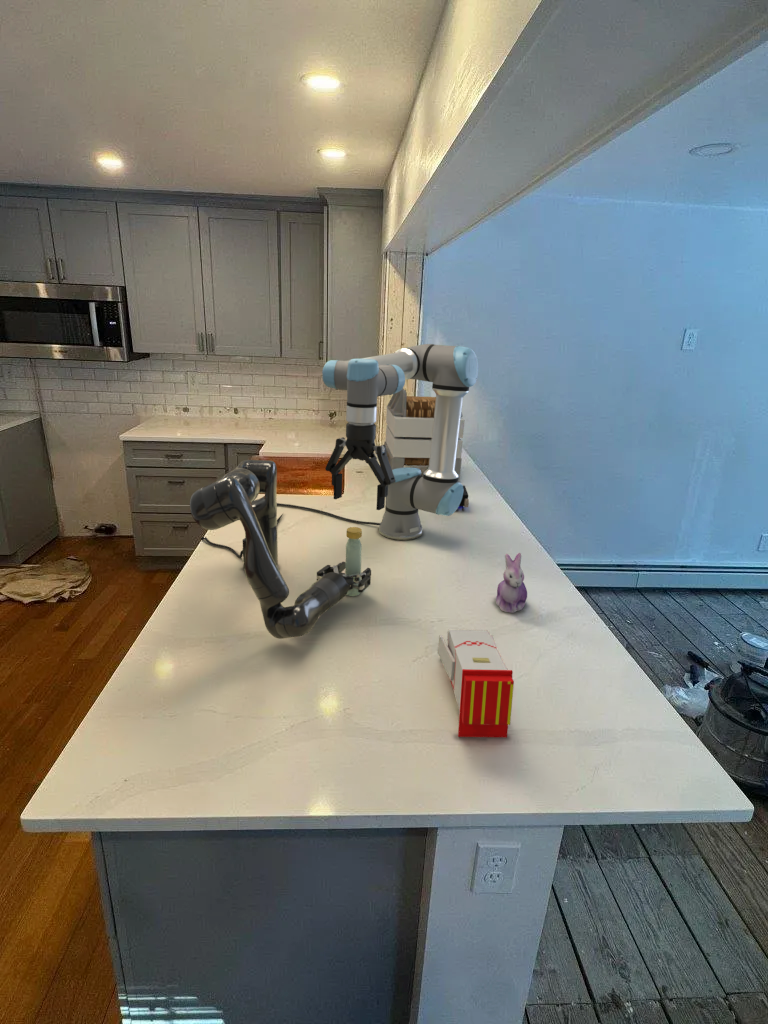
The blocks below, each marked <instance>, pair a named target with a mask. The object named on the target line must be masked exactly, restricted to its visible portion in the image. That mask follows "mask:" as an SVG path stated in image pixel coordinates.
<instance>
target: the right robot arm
mask: <svg viewBox="0 0 768 1024" xmlns="http://www.w3.org/2000/svg"><path fill="white" fill-rule="evenodd" d="M321 373H322V377H321V378H322V382H323V384H324V385H325V386H326V388H329V389H335V390H341V391H346V411H345V421H346V422H347V423H346V424H345V437H339V438H336V439H335V445H334V449H333V451H332V453H331V455H330V457H329V459H328V462H327V463H326V466H325V471H326V472H329V473H330V474H331V486H333V500H337V499H340V498H342V497H343V473H341V472H342V470H343V469H344V468H345V467H346V466H347V464H348V463H349V462H350V461H351V460H352V459H353V460H358V461H362V462H363V461H364V462H365V464H368V466H369V467H370V469H371V471H372V473H373V474H374V476H375V478H376V480H377V481H378V483H379V484H377V489H376V490H377V491H376V509H375V510H376V511H381V510H383V509H384V513H383V515H382V519H381V522H375V521H374V522H373V521H362V520H357V519H352V518H348V517H344V516H340V515H337V514H334V513H331V512H328V511H324V510H321V509H317V508H313V507H306V506H301V505H295V504H287V503H279V502H277V507H288V508H293V509H294V508H295V509H302V510H305V511H311V512H314V513H315V512H316V513H320V514H323V515H327V516H330V517H333V518H336V519H339V520H342V521H346V522H350V523H353V524H354V523H355V524H361V525H371V526H378V533H379V534H380V535H381V536H382V537H385V538H387V539H389V540H395V541H410V540H415V539H418V538H420V537H421V536H422V535H423V525H422V524H421V518H420V515H419V510H420V511H423V512H426V513H432V514H435V515H437V516H439V515H440V516H445V517H450V516H452V515H453V514H454V513H456V512H457V511H458V509H459V508H458V507H459V505H460V503H461V500H462V497H463V491H464V489H463V486H464V484H462V483H461V482H458V474H457V473H456V472H455V462H456V454H457V445H458V437H459V428H460V420H461V418H462V417H461V412H463V411H462V410H463V402H464V397H465V396H466V395H467V394H468V393H469V392H470V388H471V387H474V386H475V385H476V383H477V379H478V378H479V361H478V356H477V354H476V353H475V351H474V350H473V349H472V348H471V347H467V346H461V345H446V344H434V343H425V344H424V343H423V344H417V345H412V346H408V347H402V348H399V349H397V350H396V351H394V352H392V353H387V354H380V355H374V356H373V355H372V356H368V357H361V358H351V359H348V360H340V359H336V360H335V359H330V360H327V361H326V363H325V364H324V365H323V367H322V372H321ZM407 380H415V381H422V382H429V383H432V385H431V389H432V391H433V393H435V397H436V402H435V411H434V421H433V430H432V440H431V449H430V459H429V465H428V468H427V469H426V470H424V471H423V473H422V470H421V468H419V467H404V468H398V469H394V470H392V469H391V466H390V463H389V460H388V457H387V455H386V446H385V445H384V444H380V445H376V443H375V440H376V436H377V425H376V422H377V410H378V397H384V396H393V394H394V393H397V392H399V391H401V390H402V388H403V389H404V387H405V385H406V381H407ZM345 447H346V449H347V450H346V451H345V453H344V454H343V456H342V457H341V455H342V453H343V451H344V449H345ZM456 510H457V511H456Z"/></svg>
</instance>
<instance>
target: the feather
mask: <svg viewBox="0 0 768 1024" xmlns="http://www.w3.org/2000/svg"><path fill="white" fill-rule="evenodd" d="M283 515H284V513H282V514H281V515H280V516H279V517H277V525H279V522H280V520H281V519H282V517H283Z"/></svg>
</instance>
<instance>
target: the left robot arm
mask: <svg viewBox="0 0 768 1024" xmlns="http://www.w3.org/2000/svg"><path fill="white" fill-rule="evenodd" d="M277 491H278V467H277V464H276V462H274V460H270V459H269V460H268V459H267V460H266V459H244V460H242V461H240V463H239V464H238V465H237V466H236V467H235V468H234V469H232V470H231V471H229V472H227V473H226V474H224V475H223V476H221V477H219V479H217V480H216V481H213V482H211V483H209V484H207V485H205V486H202V487H199V488H198V489H197V490H195V491H194V492H193V493H192V494H191V497H190V499H189V511H190V515H191V516H192V519H193V520H194V522H195V523H196V524H197V525H198V526H199V527H201V528H202V529H204V530H207V531H215V530H218V529H221V528H223V527H226V526H229V525H231V524H233V523H235V522H237V521H240V522H241V525H242V527H243V531H244V538H243V539H242V548H241V549H242V550H240V552H239V554H238V553H237V551H236V550H235V549H233V548H232V547H230V546H227V545H224V544H218V543H214V542H212V541H210V540H209V538H207V537H206V536H202V537H201V538H200V540H201V541H204V540H205V542H206V543H208V544H209V545H211V546H214V547H218V548H223V549H227V550H229V551H231V552H232V553H233V554H234V555H235V556H236V557H237V558H239V559H241V558H242V559H243V569H244V574H245V578H246V580H247V582H248V585H249V587H250V588H251V590H252V592H253V593H254V595H255V596H256V599H257V600H258V602H259V606H260V610H261V614H262V618H263V622H264V626H265V629H266V631H267V632H268V633H269V634H270V635H271V636H272V637H273V638H275V639H278V640H279V639H280V640H282V639H293V638H299V637H303V636H304V637H305V636H306V635H307V634H309V633H310V632H311V631H312V630H313V628H314V627H315V626H316V623H317V622H318V619H319V618H320V617H321V616H322V615H323V614H324V613H326V612H327V611H329V610H330V609H332V608H333V607H334V606H335V605H337V603H339V602H340V601H341V600H342V599H343V598H344V597H345V596H347V595H346V594H347V592H348V591H349V590H351V589H353V588H355V589H358V592H359V593H360V594H361V593H363V592H364V591H365V590H366V589H367V588H369V586H371V580H372V579H371V578H372V569H371V567H367V568H366V569H364V570H363V571H361V573H359V574H357V573H352V574H345V572H343V571H344V570H345V564H346V561H341V562H338V563H337V564H336V565H333V566H332V565H331V564H326V565H325V566H323V567H322V568H321V569H319V570H318V571H316V581H315V582H313V583H311V585H310V586H309V587H308V588H307V589H306V590H304V591H303V592H302V593H300V594H299V595H298V596H297V598H295V600H294V604H293V605H290V606H283V604H282V603H283V602H285V601H286V599H288V597H289V596H290V589H289V586H288V584H287V582H286V580H285V579H284V577H283V575H282V573H281V571H280V569H279V548H278V547H279V545H278V543H279V541H278V524H277V520H278V508H277V507H278V505H277V503H278V501H277V498H278V497H277V494H278V493H277ZM259 494H264V495H263V496H262V497H260V498H258V496H259ZM257 498H258V499H257ZM204 537H205V538H204ZM353 577H354V580H353ZM359 577H361V580H359Z"/></svg>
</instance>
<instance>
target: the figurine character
mask: <svg viewBox="0 0 768 1024" xmlns="http://www.w3.org/2000/svg"><path fill="white" fill-rule="evenodd" d="M463 489H464V491H463V497H462V500H461V503H460V505H459V507H458V508H457V510H456V511H455V512H457V511H458V509H461V511H462V512H464V511H465V508H469V505H470V500H469V492H468V490H467V488H466V485H463Z"/></svg>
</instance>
